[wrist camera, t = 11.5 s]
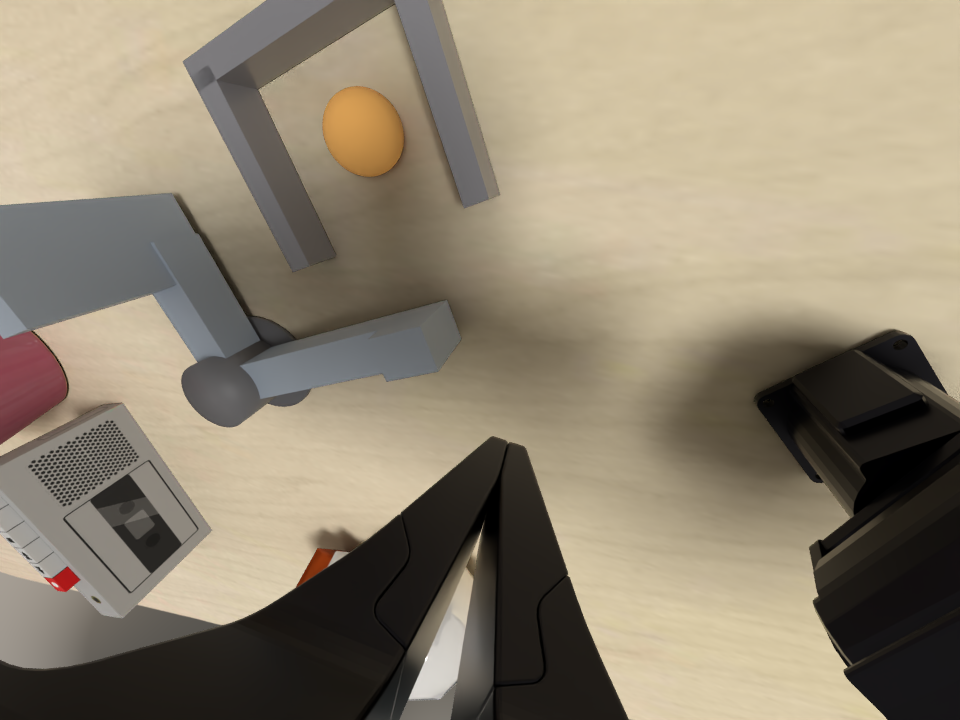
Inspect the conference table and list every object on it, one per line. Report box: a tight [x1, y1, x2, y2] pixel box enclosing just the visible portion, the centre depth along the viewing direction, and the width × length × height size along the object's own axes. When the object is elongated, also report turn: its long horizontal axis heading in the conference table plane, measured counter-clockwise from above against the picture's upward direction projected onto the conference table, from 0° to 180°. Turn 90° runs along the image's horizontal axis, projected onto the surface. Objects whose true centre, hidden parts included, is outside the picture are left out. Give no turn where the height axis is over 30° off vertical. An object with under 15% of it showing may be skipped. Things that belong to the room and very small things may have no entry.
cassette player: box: [0, 403, 212, 618], centre depth 33 cm, size 16×3×10 cm, turn 14°
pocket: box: [183, 0, 500, 272], centre depth 18 cm, size 10×11×2 cm
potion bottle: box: [296, 548, 474, 700], centre depth 30 cm, size 9×10×15 cm
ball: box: [323, 86, 404, 177], centre depth 17 cm, size 4×4×4 cm
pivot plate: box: [247, 316, 311, 407], centre depth 27 cm, size 7×7×1 cm
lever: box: [0, 193, 461, 427], centre depth 19 cm, size 17×14×10 cm
